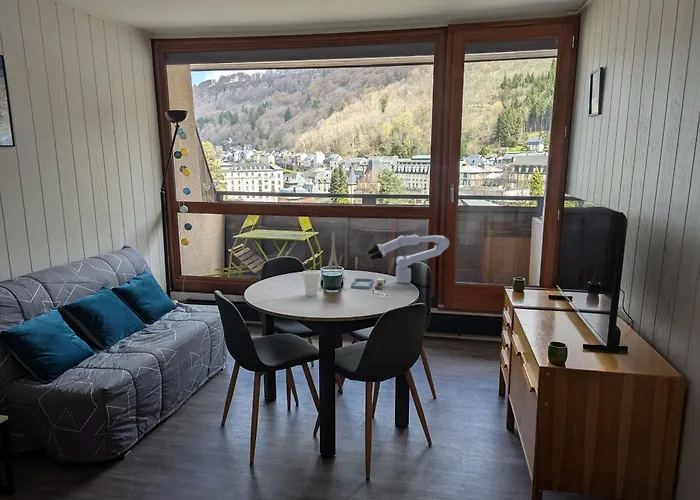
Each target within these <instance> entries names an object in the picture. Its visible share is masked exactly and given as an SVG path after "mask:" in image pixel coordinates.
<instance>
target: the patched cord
mask: <svg viewBox="0 0 700 500" xmlns="http://www.w3.org/2000/svg"><path fill="white" fill-rule="evenodd" d="M384 279H385V278H376V286H382V287H384V285H385V282H384Z"/></svg>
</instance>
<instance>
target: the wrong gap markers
mask: <svg viewBox="0 0 700 500" xmlns="http://www.w3.org/2000/svg"><path fill="white" fill-rule="evenodd" d="M383 279H384V283H386V279H385V278H383ZM374 290H380V291H382V290H383V286H377V285H375V286H374Z"/></svg>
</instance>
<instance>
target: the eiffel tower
mask: <svg viewBox="0 0 700 500" xmlns="http://www.w3.org/2000/svg"><path fill="white" fill-rule="evenodd" d="M335 240H336V235H335V231H332V233H331V252H330V253H331V254H330V257H329V262H328V265H327V267H339V265H338V261H337V255H336V246H335V245H336V244H335ZM333 264H334V265H333ZM344 277H345V276H344V275H343V280H345V279H344Z"/></svg>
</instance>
